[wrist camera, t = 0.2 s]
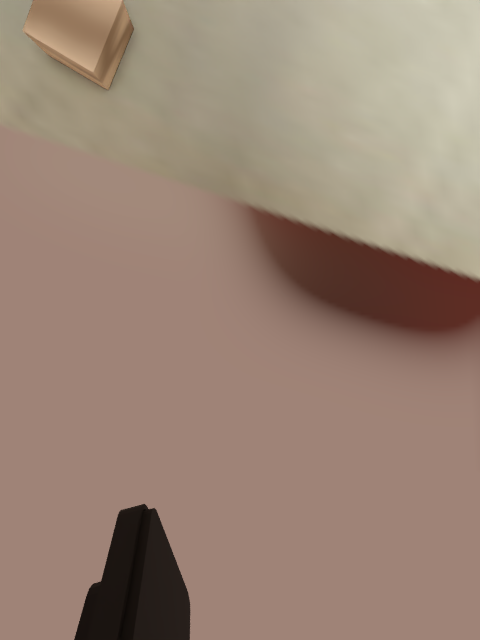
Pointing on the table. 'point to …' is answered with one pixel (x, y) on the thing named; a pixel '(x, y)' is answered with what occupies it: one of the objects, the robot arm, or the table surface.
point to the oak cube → (82, 34)
